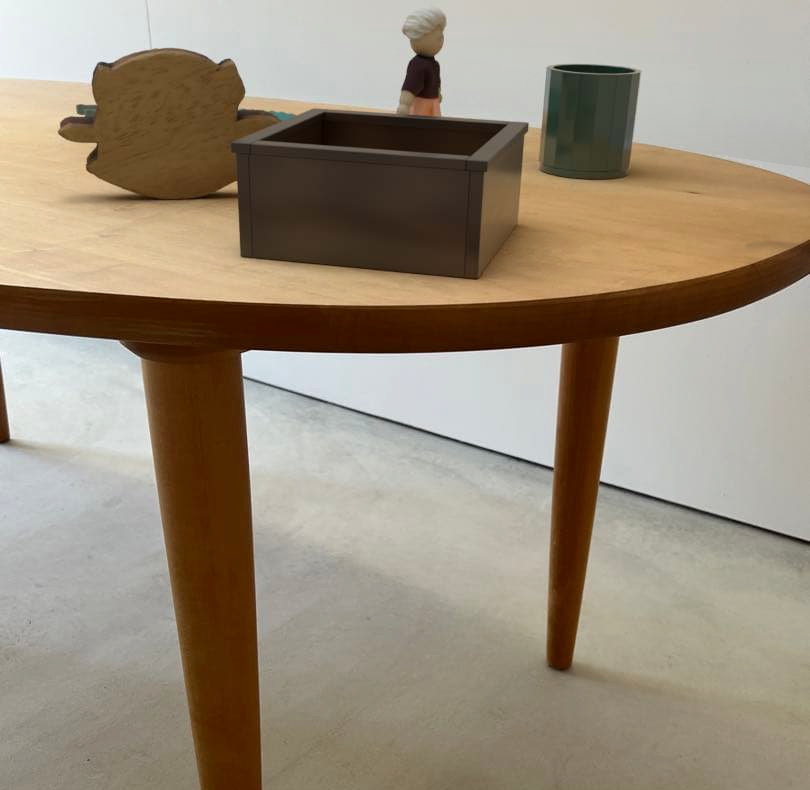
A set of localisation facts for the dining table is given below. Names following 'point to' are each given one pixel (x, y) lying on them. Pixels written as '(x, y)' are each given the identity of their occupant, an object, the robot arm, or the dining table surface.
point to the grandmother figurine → (423, 63)
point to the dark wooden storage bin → (380, 190)
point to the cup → (588, 120)
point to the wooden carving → (166, 123)
